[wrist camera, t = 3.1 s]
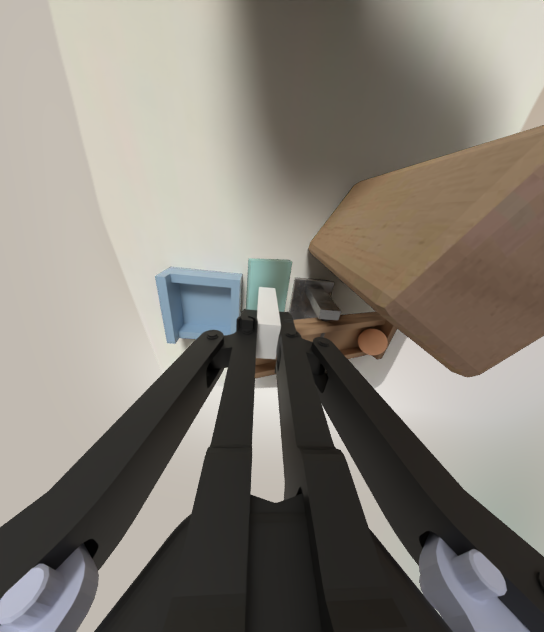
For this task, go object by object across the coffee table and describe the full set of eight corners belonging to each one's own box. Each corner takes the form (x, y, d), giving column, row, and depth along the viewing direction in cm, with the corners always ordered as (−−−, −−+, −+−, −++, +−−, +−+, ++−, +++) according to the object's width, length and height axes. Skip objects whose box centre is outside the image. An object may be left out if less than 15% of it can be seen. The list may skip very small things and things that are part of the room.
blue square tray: (170, 266, 28) (154, 276, 24) (242, 274, 29) (238, 284, 25) (178, 327, 33) (167, 343, 29) (239, 331, 34) (236, 347, 30)
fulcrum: (284, 336, 34) (290, 374, 26) (294, 277, 29) (306, 302, 21) (316, 338, 35) (332, 376, 27) (332, 281, 30) (358, 307, 22)
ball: (357, 323, 26) (372, 338, 23) (380, 324, 27) (398, 339, 24) (349, 344, 28) (362, 361, 25) (371, 344, 29) (387, 361, 26)
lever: (242, 367, 23) (249, 390, 21) (247, 257, 17) (260, 269, 14) (363, 345, 31) (381, 359, 28) (398, 263, 25) (426, 271, 22)
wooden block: (351, 286, 30) (471, 388, 13) (304, 247, 27) (377, 313, 10) (404, 230, 27) (675, 267, 9) (356, 178, 24) (629, 83, 6)
